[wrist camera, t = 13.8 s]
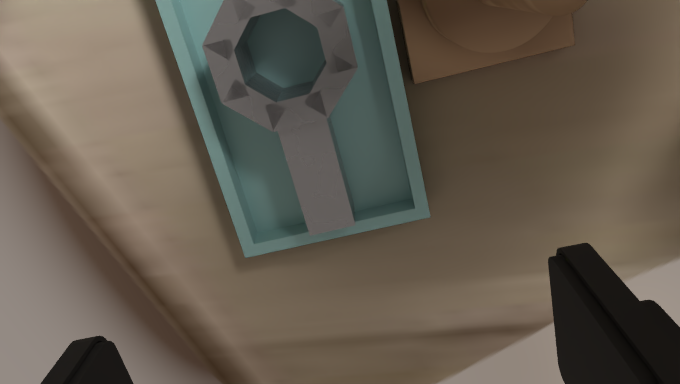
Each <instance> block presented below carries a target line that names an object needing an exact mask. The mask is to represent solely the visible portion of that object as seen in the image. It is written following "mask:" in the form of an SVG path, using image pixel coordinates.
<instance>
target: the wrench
mask: <svg viewBox="0 0 680 384" xmlns="http://www.w3.org/2000/svg"><path fill="white" fill-rule="evenodd" d="M284 8H286V9H288V10H289V11H291V12H293V13H294V14H296V15H297V16H299V17H301V18H302V19H304V20H306V21H307V22H309V23H311V24H312V25H314V26H316V27H317V29H318V32H319V36H320V40H321V44H322V48H323V51H324V55H325V61H324V62H323V64H322V66H321V68H320V69H319V71H318V73H317V75H316V77H315V78H314V80H313V81H310V82H306V83H302V84H298V85H294V86H291V87H287V88H282V87H281V86H279V85H277V84H276V83H274V82H272V81H270V80H269V79H267V78H265V77H263V76H262V75H260V74H258V73H257V72H256V69H255V66H254V62H253V59H252V56H251V53H250V50H249V46H248V43H247V41H248V39H249V37H250V35H251V33H252V31H253V29H254V27H255V25H256V23H257V21H258V19H259V17H260V15H262V14H265V13H269V12H273V11H276V10H280V9H284ZM202 45H203V46H202V47H203V50H204V53H205V56H206V59H207V62H208V65H209V68H210V71H211V74H212V77H213V80H214V82H215V85H216V88H217V91H218V94H219V97H220V100H221V103H222V104H224V105H225V106H227V107H229V108H231V109H233V110H234V111H236V112H238V113H240V114H241V115H243V116H245V117H247V118H249V119H250V120H252V121H254V122H256V123H258V124H259V125H261V126H263V127H265V128H266V129H268V130H270V131H272V132H276V131H278V134H279V137H280V141H281V144H282V147H283V150H284V154H285V157H286V160H287V163H288V167H289V170H290V173H291V176H292V179H293V183H294V186H295V189H296V192H297V196H298V199H299V202H300V205H301V209H302V212H303V215H304V218H305V222H306V225H307V228H308V231H309V235H310V236H311V235H316V234H320V233H324V232H329V231H333V230H337V229H342V228H346V227H350V226H354V225H355V207H354V203H353V199H352V195H351V191H350V188H349V184H348V180H347V177H346V173H345V169H344V165H343V162H342V158H341V154H340V151H339V147H338V143H337V139H336V136H335V132H334V128H333V125H332V121H331V117H330V114H331V113H332V111H333V109H334V108H335V106H336V104H337V102H338V101H339V99H340V97H341V96H342V94H343V92H344V91H345V89H346V87H347V86H348V84H349V82H350V81H351V79H352V77H353V75H354V74H355V72H356V70H357V69H358V65H357V60H356V55H355V51H354V47H353V42H352V38H351V34H350V30H349V26H348V22H347V18H346V14H345V9H344V5H343V3H341V2H340V1H338V0H223V3H222V5H221V7H220V9H219V11H218V13H217V15H216V17H215V19H214V21H213V23H212V25H211V27H210V30H209V32H208V34H207V36H206V38H205V40H204V42H203V44H202Z"/></svg>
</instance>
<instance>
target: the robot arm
mask: <svg viewBox="0 0 680 384" xmlns="http://www.w3.org/2000/svg"><path fill="white" fill-rule="evenodd" d="M548 266H549V276H550V286H551V296H552V306H553V316H554V326H555V336H556V346H557V356H558V365H559V369H560V372H561V376H562V378H563V381H564V383H565V384H680V327H679V326H678V325H677V324H676V323H675V322H674V321H673V320H672V319H671V317H670V316H669V315H668V314H667V313H666V312H665V311H664V310H663V309H662V308H661V307H660V306H659V305H658V304H657V303H655V302H654V301H652V300H644V301H639V300H638V299H637V298H636V296H635V295H634V294H633V293H632V292H631V291H630V289H629V288H628V287H627V286H626V285H625V284H624V283H623V282H622V280H621V279H620V278H619V277H618V276H617V275H616V274H615V273H614V271H613V270H612V269H611V268H610V267H609V266H608V265H607V263H606V262H605V261H604V260H603V259H602V258H601V257H600V256H599V254H598V253H597V252H596V251H595V250H594V249H593V248H592V246H591V245H590V244H588V243H582V244H577V245H571V246H566V247H561V248H558V249H557V253H556V256H553V257H549V259H548ZM41 384H133V382H132V380H131V378H130V375H129V373H128V371H127V369H126V367H125V365H124V363H123V361H122V359H121V356H120V354H119V352H118V350H117V348H116V346H115V345H114V343H113V342H111V341H107V340H106V339H105V338H104V337H103V336H96V337H90V338H85V339H80V340H76V341H73V342H72V343H71V344H70V345H69V346H68V348H67V349H66V350H65V352H64V353H63V354H62V356H61V357H60V358H59V360H58V361H57V362H56V364H55V365H54V367H53V368H52V369H51V370H50V372H49V373H48V374H47V376H46V377H45V378H44V380H43V381H42V382H41Z"/></svg>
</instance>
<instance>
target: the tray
mask: <svg viewBox="0 0 680 384" xmlns="http://www.w3.org/2000/svg"><path fill="white" fill-rule="evenodd" d="M155 1H156V4H157V7H158V9H159V12H160V15H161V18H162V21H163V24H164V27H165V30H166V32H167V35H168V38H169V41H170V44H171V47H172V50H173V52H174V55H175V58H176V61H177V64H178V67H179V70H180V72H181V75H182V78H183V81H184V84H185V87H186V90H187V92H188V95H189V98H190V101H191V104H192V107H193V110H194V112H195V115H196V118H197V121H198V124H199V127H200V130H201V132H202V135H203V138H204V141H205V144H206V147H207V150H208V152H209V155H210V158H211V161H212V164H213V167H214V170H215V173H216V175H217V178H218V181H219V184H220V187H221V190H222V193H223V195H224V198H225V201H226V204H227V207H228V210H229V213H230V215H231V218H232V221H233V224H234V227H235V230H236V233H237V235H238V238H239V241H240V244H241V247H242V250H243V253H244V255H245V258H248V257H252V256H257V255H261V254H266V253H270V252H275V251H279V250H284V249H289V248H293V247H298V246H302V245H307V244H311V243H316V242H320V241H325V240H329V239H334V238H339V237H343V236H348V235H352V234H357V233H361V232H366V231H370V230H375V229H379V228H384V227H388V226H393V225H398V224H402V223H407V222H411V221H416V220H420V219H425V218H429V217H431V216H430V211H429V207H428V202H427V197H426V192H425V187H424V182H423V177H422V172H421V167H420V162H419V157H418V152H417V147H416V142H415V137H414V132H413V128H412V123H411V118H410V113H409V108H408V103H407V98H406V93H405V88H404V83H403V78H402V73H401V68H400V63H399V58H398V54H397V49H396V44H395V39H394V34H393V29H392V24H391V19H390V14H389V9H388V4H387V0H338V1H340V2H341V3H343V5H344V9H345V14H346V18H347V22H348V26H349V30H350V34H351V38H352V42H353V47H354V51H355V55H356V60H357V65H358V69H357V70H356V72H355V74H354V75H353V77H352V79H351V81H350V82H349V84H348V86H347V87H346V89H345V91H344V92H343V94H342V96H341V97H340V99H339V101H338V102H337V104H336V106H335V108H334V109H333V111H332V113H331V114H330V117H331V121H332V125H333V128H334V132H335V136H336V139H337V143H338V147H339V151H340V154H341V158H342V162H343V165H344V169H345V173H346V177H347V180H348V184H349V188H350V191H351V195H352V199H353V203H354V207H355V225H354V226H350V227H346V228H342V229H337V230H333V231H329V232H324V233H320V234H316V235H311V236H310V235H309V231H308V228H307V225H306V222H305V218H304V215H303V212H302V209H301V205H300V202H299V199H298V196H297V192H296V189H295V186H294V183H293V179H292V176H291V173H290V170H289V167H288V163H287V160H286V157H285V154H284V150H283V147H282V144H281V141H280V137H279V134H278V131H276V132H272V131H270V130H268V129H266V128H265V127H263V126H261V125H259V124H258V123H256V122H254V121H252V120H250V119H249V118H247V117H245V116H243V115H241V114H240V113H238V112H236V111H234V110H233V109H231V108H229V107H227V106H225V105H224V104H222V103H221V100H220V97H219V94H218V91H217V88H216V85H215V82H214V80H213V77H212V74H211V71H210V68H209V65H208V62H207V59H206V56H205V53H204V50H203V47H202V46H203V45H202V44H203V42H204V40H205V38H206V36H207V34H208V32H209V30H210V27H211V25H212V23H213V21H214V19H215V17H216V15H217V13H218V11H219V9H220V7H221V5H222V3H223V0H155ZM247 43H248V46H249V50H250V53H251V56H252V59H253V62H254V66H255V69H256V72H257V73H258V74H260V75H262V76H263V77H265V78H267V79H269V80H270V81H272V82H274V83H276V84H277V85H279V86H281V87H282V88H287V87H291V86H294V85H298V84H302V83H306V82H310V81H313V80H314V78H315V77H316V75H317V73H318V71H319V69H320V68H321V66H322V64H323V62H324V61H325V55H324V51H323V48H322V44H321V40H320V36H319V32H318V29H317V27H316V26H314V25H312V24H311V23H309V22H307V21H306V20H304V19H302V18H301V17H299V16H297V15H296V14H294V13H293V12H291V11H289V10H288V9H286V8H284V9H280V10H276V11H273V12H269V13H265V14H262V15H260V17H259V19H258V21H257V23H256V25H255V27H254V29H253V31H252V33H251V35H250V37H249V39H248V41H247Z"/></svg>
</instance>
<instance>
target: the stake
mask: <svg viewBox="0 0 680 384" xmlns="http://www.w3.org/2000/svg"><path fill="white" fill-rule="evenodd" d="M586 2H587V0H397V5H398V10H399V16H400V21H401V26H402V31H403V36H404V41H405V46H406V51H407V56H408V61H409V66H410V72H411V77H412V81H413V82H414V84H418V83H422V82H426V81H430V80H434V79H438V78H442V77H446V76H450V75H454V74H459V73H463V72H467V71H471V70H475V69H479V68H483V67H487V66H491V65H496V64H500V63H504V62H508V61H512V60H516V59H520V58H524V57H528V56H532V55H537V54H541V53H545V52H549V51H553V50H557V49H561V48H565V47H569V46H574V45H575V41H574V29H573V17H572V13H573V12H575V11H576V10H578V9H579V8H581V7H582V6H583V5H584V4H585V3H586Z"/></svg>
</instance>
